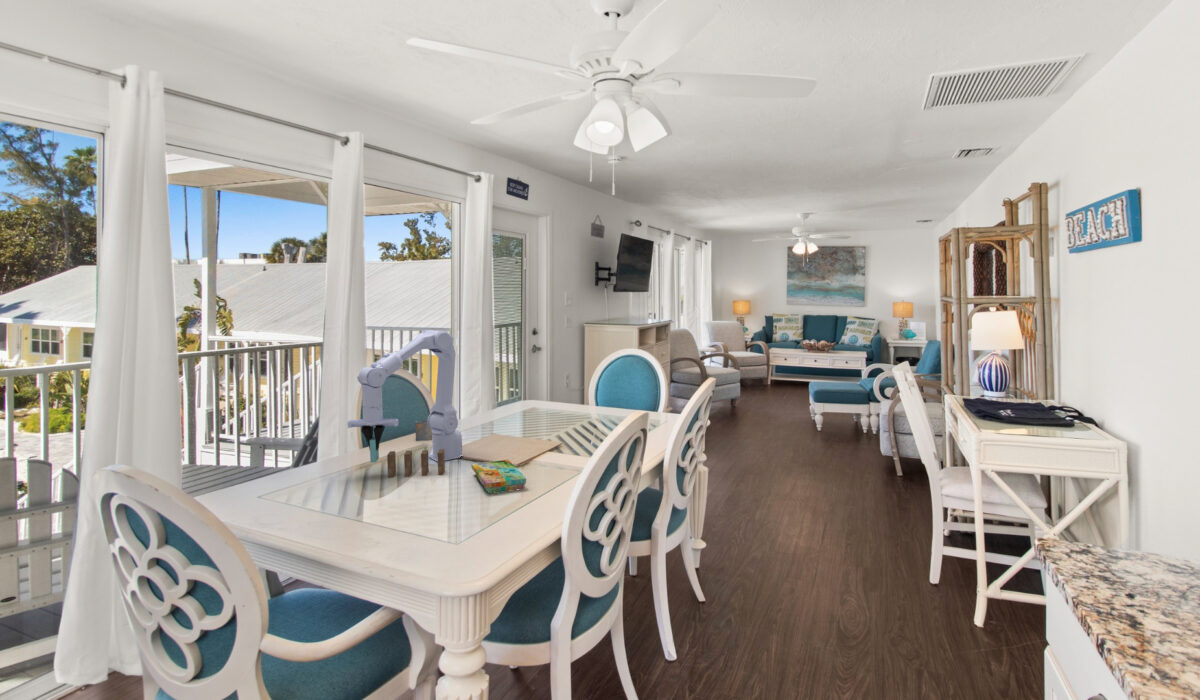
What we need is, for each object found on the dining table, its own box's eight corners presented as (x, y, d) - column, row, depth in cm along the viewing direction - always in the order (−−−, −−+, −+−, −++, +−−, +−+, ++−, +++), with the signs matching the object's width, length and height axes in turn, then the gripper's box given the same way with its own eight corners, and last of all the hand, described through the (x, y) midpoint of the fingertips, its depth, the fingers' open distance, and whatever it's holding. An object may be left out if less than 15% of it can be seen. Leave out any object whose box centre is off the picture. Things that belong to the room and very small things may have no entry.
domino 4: (428, 471, 186) (428, 449, 185) (426, 475, 182) (426, 453, 181) (423, 471, 186) (422, 450, 185) (421, 475, 182) (420, 453, 181)
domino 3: (412, 471, 185) (411, 450, 185) (410, 476, 181) (409, 454, 180) (407, 472, 185) (406, 450, 184) (404, 476, 181) (404, 454, 180)
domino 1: (378, 458, 183) (378, 436, 183) (376, 462, 179) (375, 439, 178) (373, 458, 183) (372, 436, 182) (370, 462, 179) (369, 440, 178)
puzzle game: (485, 480, 164) (471, 461, 182) (485, 496, 164) (471, 475, 183) (526, 475, 169) (508, 456, 187) (526, 491, 169) (508, 471, 187)
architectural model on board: (447, 438, 228) (446, 414, 227) (446, 440, 225) (445, 416, 224) (416, 440, 226) (416, 415, 225) (415, 442, 223) (415, 417, 222)
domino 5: (444, 470, 187) (444, 449, 186) (443, 474, 183) (442, 453, 182) (439, 470, 187) (439, 449, 186) (438, 475, 182) (437, 453, 182)
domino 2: (396, 472, 185) (395, 451, 184) (393, 477, 180) (392, 455, 180) (390, 472, 184) (390, 451, 184) (387, 477, 180) (387, 455, 179)
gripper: (344, 409, 174) (346, 453, 176) (394, 408, 176) (396, 452, 178) (350, 404, 181) (352, 447, 183) (399, 403, 183) (400, 445, 185)
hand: (374, 449), depth 181 cm, fingers closed on domino 1, 1 cm apart
